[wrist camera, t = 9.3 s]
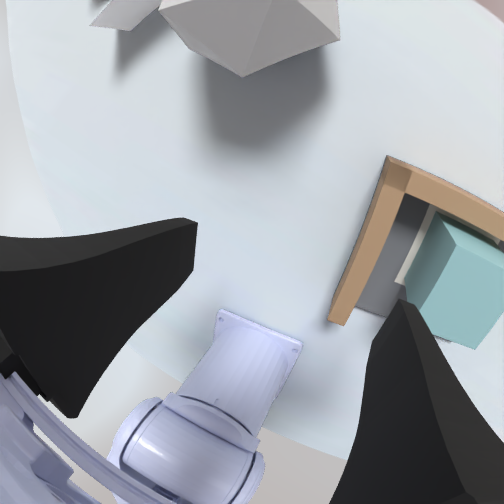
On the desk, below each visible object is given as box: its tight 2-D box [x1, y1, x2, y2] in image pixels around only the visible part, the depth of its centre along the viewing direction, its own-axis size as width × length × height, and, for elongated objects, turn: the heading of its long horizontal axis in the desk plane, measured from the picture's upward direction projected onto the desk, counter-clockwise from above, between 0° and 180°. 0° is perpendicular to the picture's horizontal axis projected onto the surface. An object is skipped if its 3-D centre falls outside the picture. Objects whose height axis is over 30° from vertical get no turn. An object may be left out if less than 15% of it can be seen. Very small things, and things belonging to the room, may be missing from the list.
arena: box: [327, 155, 504, 341], centre depth 15 cm, size 10×11×3 cm
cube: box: [404, 211, 504, 350], centre depth 13 cm, size 5×5×5 cm
